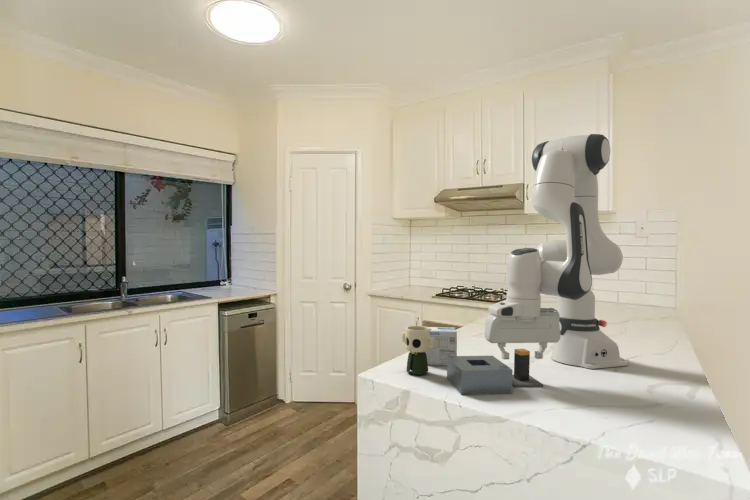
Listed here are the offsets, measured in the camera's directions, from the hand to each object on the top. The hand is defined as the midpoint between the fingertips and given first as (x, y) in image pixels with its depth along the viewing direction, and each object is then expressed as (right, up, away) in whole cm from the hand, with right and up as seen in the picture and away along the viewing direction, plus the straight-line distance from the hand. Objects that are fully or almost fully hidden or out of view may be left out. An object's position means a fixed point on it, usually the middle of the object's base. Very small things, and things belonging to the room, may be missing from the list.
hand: (522, 358), depth 111 cm
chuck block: (-13, -6, -1) cm, 14 cm away
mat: (0, -6, 0) cm, 6 cm away
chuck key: (0, -6, 0) cm, 6 cm away
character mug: (-28, -6, +6) cm, 29 cm away
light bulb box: (-20, -6, +17) cm, 27 cm away
